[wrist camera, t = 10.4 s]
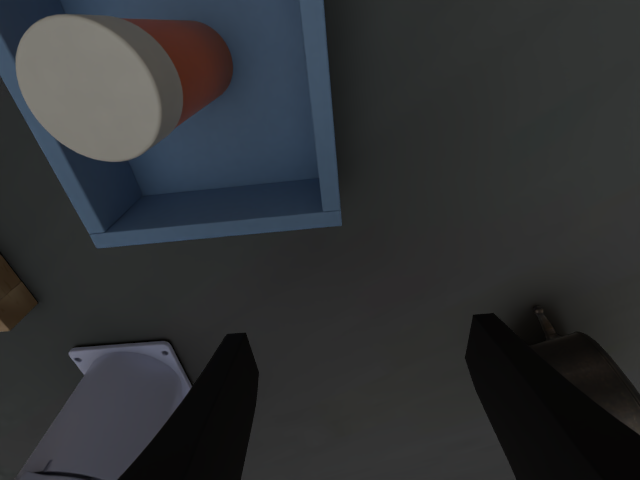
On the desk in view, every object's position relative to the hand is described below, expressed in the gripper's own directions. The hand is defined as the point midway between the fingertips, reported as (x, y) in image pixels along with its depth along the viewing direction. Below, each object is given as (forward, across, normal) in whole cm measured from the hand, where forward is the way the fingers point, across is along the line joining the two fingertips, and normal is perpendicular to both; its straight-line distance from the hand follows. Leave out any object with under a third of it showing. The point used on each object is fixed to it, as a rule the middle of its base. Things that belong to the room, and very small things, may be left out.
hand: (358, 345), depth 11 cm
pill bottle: (+10, +6, -8) cm, 14 cm away
